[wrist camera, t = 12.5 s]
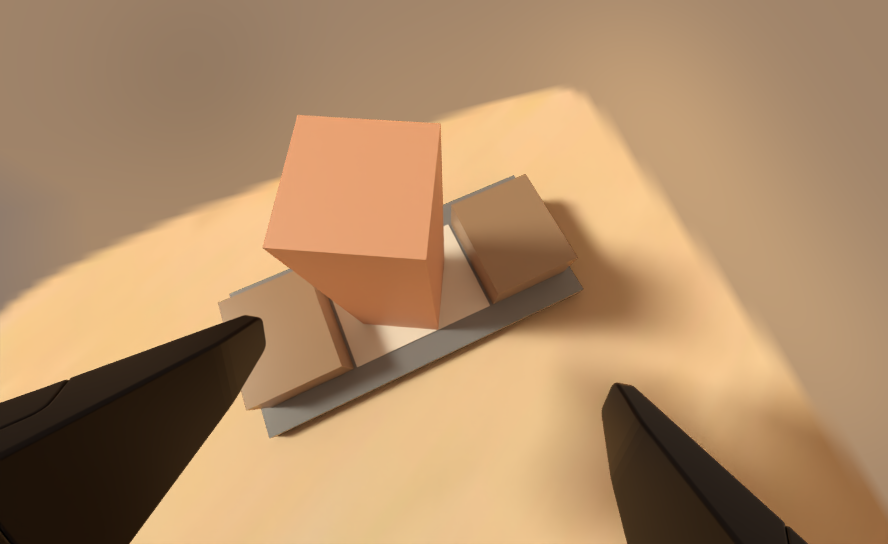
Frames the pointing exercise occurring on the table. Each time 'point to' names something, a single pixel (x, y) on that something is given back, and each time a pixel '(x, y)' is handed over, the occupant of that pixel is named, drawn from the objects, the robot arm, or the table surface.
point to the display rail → (402, 348)
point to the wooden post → (364, 217)
